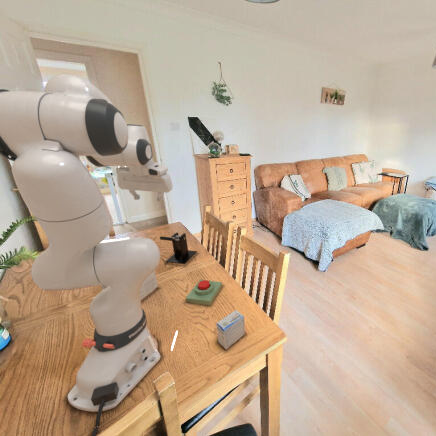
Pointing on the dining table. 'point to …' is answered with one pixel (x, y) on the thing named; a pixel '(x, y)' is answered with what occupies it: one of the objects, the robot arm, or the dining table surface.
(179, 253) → the lever bracket
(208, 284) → the button
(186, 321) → the dining table surface
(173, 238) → the press lever
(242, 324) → the medicine box
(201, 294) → the button block
